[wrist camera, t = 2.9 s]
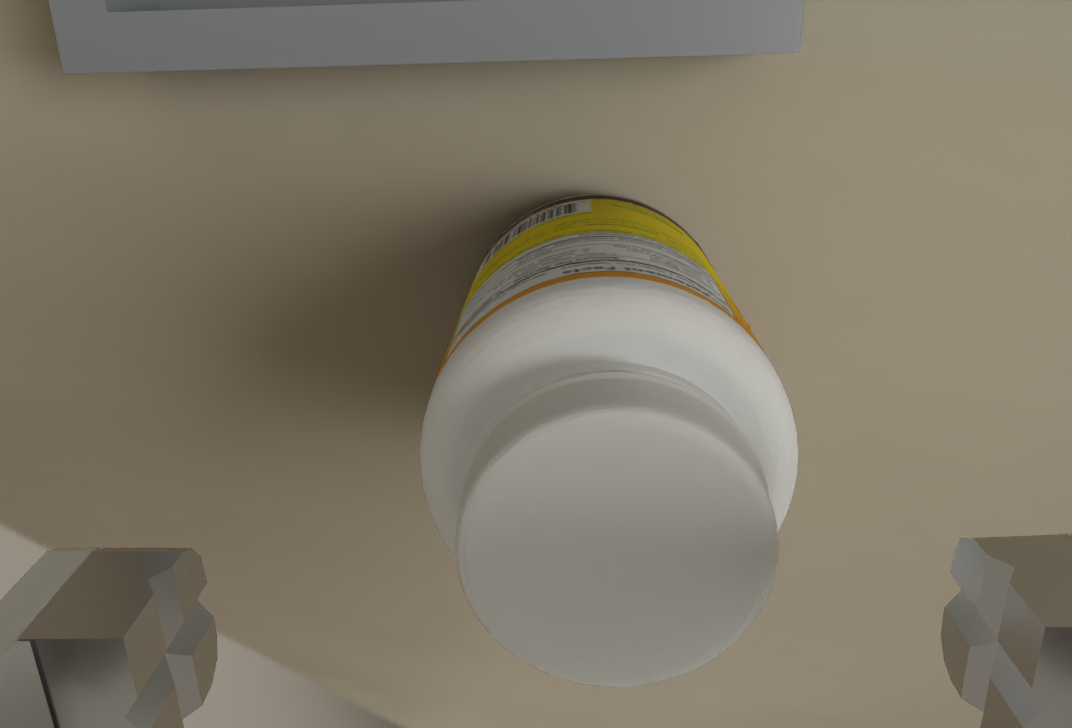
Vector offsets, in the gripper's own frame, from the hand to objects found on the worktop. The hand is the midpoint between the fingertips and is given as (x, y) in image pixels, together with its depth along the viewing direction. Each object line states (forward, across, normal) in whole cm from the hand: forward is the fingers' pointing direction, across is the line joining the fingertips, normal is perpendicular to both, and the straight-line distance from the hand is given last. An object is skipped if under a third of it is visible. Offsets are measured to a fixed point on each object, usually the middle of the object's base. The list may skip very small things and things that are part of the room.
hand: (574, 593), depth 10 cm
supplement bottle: (+12, +1, 0) cm, 12 cm away
